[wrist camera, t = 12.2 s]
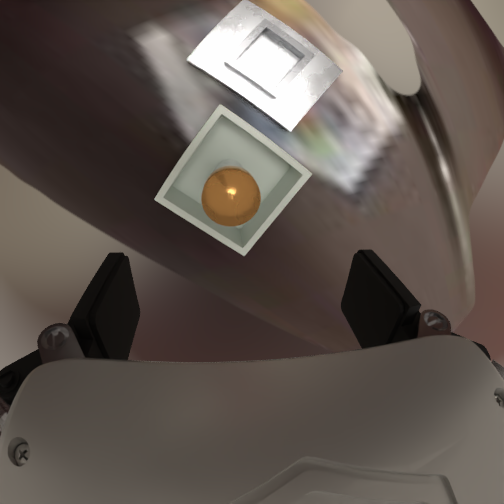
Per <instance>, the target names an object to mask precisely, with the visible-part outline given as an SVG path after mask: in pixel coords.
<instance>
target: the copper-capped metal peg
mask: <svg viewBox="0 0 504 504" xmlns="http://www.w3.org/2000/svg"><path fill="white" fill-rule="evenodd" d="M201 201H202V206H203V209H204V211H205V213H206V215H207V216H208V217H209V218H210V219H211V220H212V221H214V222H216V223H217V224H220V225H223V226H238V225H241V224H244V223H246V222H247V221H249V220H250V219H251V218H252V217H253V216H254V215H255V214H256V212H257V211H258V209H259V206H260V202H261V194H260V190H259V187H258V185H257V183H256V181H255V179H254V177H253V176H252V175H251V174H250V173H249V172H248V171H247V170H245V169H243V167H242V165H241V164H240V163H239V162H237V161H235V160H232V159H226V160H223V161H221V162H219V163H218V164H217V165H216V166H215V168H214V171H213V172H212V173H211V174H210V175H209V177H208V178H207V180H206V181H205V184H204V187H203V191H202V196H201Z"/></svg>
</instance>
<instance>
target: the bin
mask: <svg viewBox="0 0 504 504" xmlns="http://www.w3.org/2000/svg"><path fill="white" fill-rule="evenodd" d="M226 159H232V160H235V161H237V162H239V163H240V164H241V165H242V167H243V169H245V170H247V171H248V172H249V173H250V174H251V175H252V176H253V177H254V179H255V181H256V183H257V185H258V187H259V190H260V194H261V202H260V206H259V209H258V211H257V212H256V214H255V215H254V216H253V217H252V218H251V219H250V220H249V221H247V222H246V223H244V224H241V225H238V226H223V225H220V224H217V223H216V222H214V221H212V220H211V219H210V218H209V217H208V216H207V215H206V213H205V211H204V209H203V206H202V201H201V196H202V191H203V187H204V184H205V181H206V180H207V178H208V177H209V175H210V174H211V173H212V172H213V171H214V168H215V166H216V165H217V164H218V163H219V162H221V161H223V160H226ZM311 175H312V173H311V172H309V171H308V170H307V169H306V168H305V167H304V166H302V165H301V164H300V163H299V162H297V161H296V160H295V159H294V158H293V157H291V156H290V155H289V154H288V153H286V152H285V151H284V150H283V149H281V148H280V147H279V146H277V145H276V144H275V143H274V142H272V141H271V140H270V139H268V138H267V137H266V136H264V135H263V134H262V133H260V132H259V131H258V130H256V129H255V128H254V127H252V126H251V125H249V124H248V123H247V122H245V121H244V120H242V119H241V118H240V117H238V116H237V115H235V114H234V113H233V112H231V111H230V110H228V109H227V108H225V107H224V106H222V105H221V104H220V105H219V106H218V107H217V109H216V110H215V111H214V113H213V114H212V115H211V117H210V118H209V119H208V120H207V122H206V123H205V124H204V126H203V127H202V129H201V130H200V131H199V133H198V134H197V135H196V137H195V138H194V140H193V141H192V142H191V144H190V145H189V147H188V148H187V149H186V151H185V152H184V154H183V155H182V157H181V158H180V160H179V161H178V163H177V164H176V166H175V167H174V169H173V170H172V172H171V173H170V175H169V176H168V178H167V179H166V181H165V183H164V184H163V186H162V187H161V189H160V191H159V192H158V194H157V195H156V197H155V199H154V200H155V201H157V202H159V203H160V204H162V205H163V206H165V207H167V208H168V209H170V210H171V211H173V212H174V213H176V214H178V215H179V216H181V217H182V218H184V219H186V220H187V221H189V222H190V223H192V224H194V225H195V226H197V227H198V228H200V229H201V230H203V231H205V232H206V233H208V234H209V235H211V236H213V237H214V238H216V239H217V240H219V241H221V242H222V243H224V244H225V245H227V246H229V247H230V248H232V249H233V250H235V251H237V252H238V253H240V254H241V255H243V256H245V255H246V254H247V252H248V251H249V250H250V249H251V247H252V246H253V245H254V244H255V243H256V241H257V240H258V239H259V238H260V237H261V235H262V234H263V233H264V232H265V231H266V229H267V228H268V227H269V226H270V224H271V223H272V222H273V221H274V220H275V218H276V217H277V216H278V215H279V214H280V212H281V211H282V210H283V209H284V208H285V206H286V205H287V204H288V203H289V201H290V200H291V199H292V198H293V197H294V195H295V194H296V193H297V192H298V191H299V189H300V188H301V187H302V186H303V185H304V183H305V182H306V181H307V180H308V179H309V177H310V176H311Z"/></svg>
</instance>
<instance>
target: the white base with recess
mask: <svg viewBox="0 0 504 504" xmlns="http://www.w3.org/2000/svg"><path fill="white" fill-rule="evenodd" d="M186 60H187V61H188V63H189V64H191V65H193V66H194V67H196V68H198V69H199V70H201V71H203V72H204V73H206V74H207V75H209V76H211V77H212V78H214V79H215V80H217V81H218V82H220V83H221V84H223V85H224V86H226V87H227V88H229V89H230V90H232V91H233V92H235V93H236V94H238V95H239V96H241V97H242V98H244V99H245V100H246V101H248V102H249V103H251V104H252V105H253V106H255V107H256V108H257V109H259V110H260V111H262V112H263V113H264V114H266V115H267V116H268V117H270V118H271V119H272V120H273V121H275V122H276V123H277V124H279V125H280V126H281V127H282V128H284V129H285V130H286V131H290V132H291V131H292V129H293V128H294V127H295V126H296V125H297V123H298V122H299V121H300V120H301V119H302V117H303V116H304V115H305V114H306V113H307V112H308V110H309V109H310V108H311V107H312V106H313V104H314V103H315V102H316V101H317V100H318V99H319V98H320V96H321V95H322V94H323V93H324V92H325V91H326V90H327V88H328V87H329V86H330V85H331V84H332V83H333V82H334V81H335V79H336V78H337V77H338V76H339V75H340V74H341V73H342V72H343V70H341V69H340V68H339V67H338V66H337V65H336V64H335V63H334V62H333V61H331V60H330V59H329V58H328V57H327V56H326V55H324V54H323V53H322V52H321V51H320V50H318V49H317V48H316V47H315V46H314V45H312V44H311V43H310V42H309V41H307V40H306V39H305V38H303V37H302V36H301V35H299V34H298V33H297V32H295V31H294V30H293V29H291V28H290V27H288V26H287V25H286V24H284V23H283V22H281V21H280V20H278V19H277V18H275V17H274V16H272V15H271V14H269V13H268V12H266V11H265V10H263V9H261V8H260V7H258V6H256V5H255V4H253V3H251V2H250V1H248V0H242V1H241V2H240V3H239V4H238V5H237V6H236V7H235V8H234V9H233V10H232V11H231V12H230V13H229V14H228V15H227V16H226V17H225V18H224V19H223V20H222V21H221V22H220V23H219V24H218V25H217V26H216V27H215V28H214V29H213V30H212V31H211V32H210V33H209V34H208V35H207V36H206V37H205V39H204V40H203V41H202V42H201V43H200V44H199V45H198V46H197V48H196V49H195V50H194V51H193V52H192V53H191V55H190V56H189V57H188V58H187V59H186Z"/></svg>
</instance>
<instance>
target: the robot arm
mask: <svg viewBox="0 0 504 504" xmlns="http://www.w3.org/2000/svg"><path fill="white" fill-rule="evenodd" d="M420 307H421V304H420V303H419V302H418V301H417V299H416V298H415V297H414V296H413V295H412V293H411V292H410V291H409V290H408V289H407V288H406V287H405V285H404V284H403V283H402V282H401V281H400V280H399V279H398V277H397V276H396V275H395V274H394V273H393V272H392V271H391V270H390V269H389V268H388V266H387V265H386V264H385V263H384V262H383V261H382V260H381V259H380V258H379V257H378V256H377V255H376V254H375V252H374V251H373V250H359V251H358V252H357V253H355V254H354V256H353V260H352V264H351V268H350V272H349V276H348V280H347V284H346V288H345V291H344V295H343V298H342V302H341V309H342V312H343V314H344V315H345V317H346V319H347V321H348V323H349V325H350V327H351V328H352V330H353V332H354V334H355V336H356V338H357V340H358V342H359V344H360V346H361V347H362V349H357V350H351V351H345V352H338V353H330V354H322V355H314V356H306V357H296V358H287V359H286V358H285V359H273V360H259V361H240V362H206V363H204V362H200V363H189V362H188V363H186V362H183V363H182V362H151V361H134V360H133V361H132V360H128V357H129V353H130V349H131V345H132V342H133V338H134V335H135V331H136V328H137V324H138V321H139V317H140V308H139V304H138V300H137V295H136V291H135V287H134V282H133V277H132V273H131V268H130V262H129V258H128V256H124V253H109V254H108V255H107V257H106V259H105V260H104V262H103V263H102V265H101V266H100V268H99V269H98V271H97V273H96V274H95V276H94V277H93V279H92V281H91V282H90V284H89V286H88V287H87V289H86V291H85V292H84V294H83V296H82V297H81V299H80V301H79V303H78V304H77V306H76V308H75V310H74V312H73V313H72V315H71V317H70V320H69V322H68V324H63V323H57V324H53V325H50V326H48V327H47V328H45V329H44V330H43V331H42V332H41V334H40V335H39V337H38V341H37V342H38V350H36V351H34V352H32V353H30V354H28V355H26V356H25V357H23V358H21V359H19V360H17V361H15V362H14V363H12V364H10V365H8V366H6V367H5V368H3V369H2V370H1V371H0V504H504V367H502V366H501V365H500V364H498V363H497V362H496V361H494V360H493V361H492V362H491V361H490V360H491V359H490V355H489V353H488V351H487V349H486V348H485V347H484V346H483V345H481V344H478V343H476V342H474V341H471V340H469V339H467V338H464V337H462V336H460V335H457V334H455V333H452V332H451V323H450V321H449V320H448V318H447V317H446V316H445V315H443V314H442V313H440V312H438V311H436V310H424V311H423V312H422V313H420V312H419V309H420Z"/></svg>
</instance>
